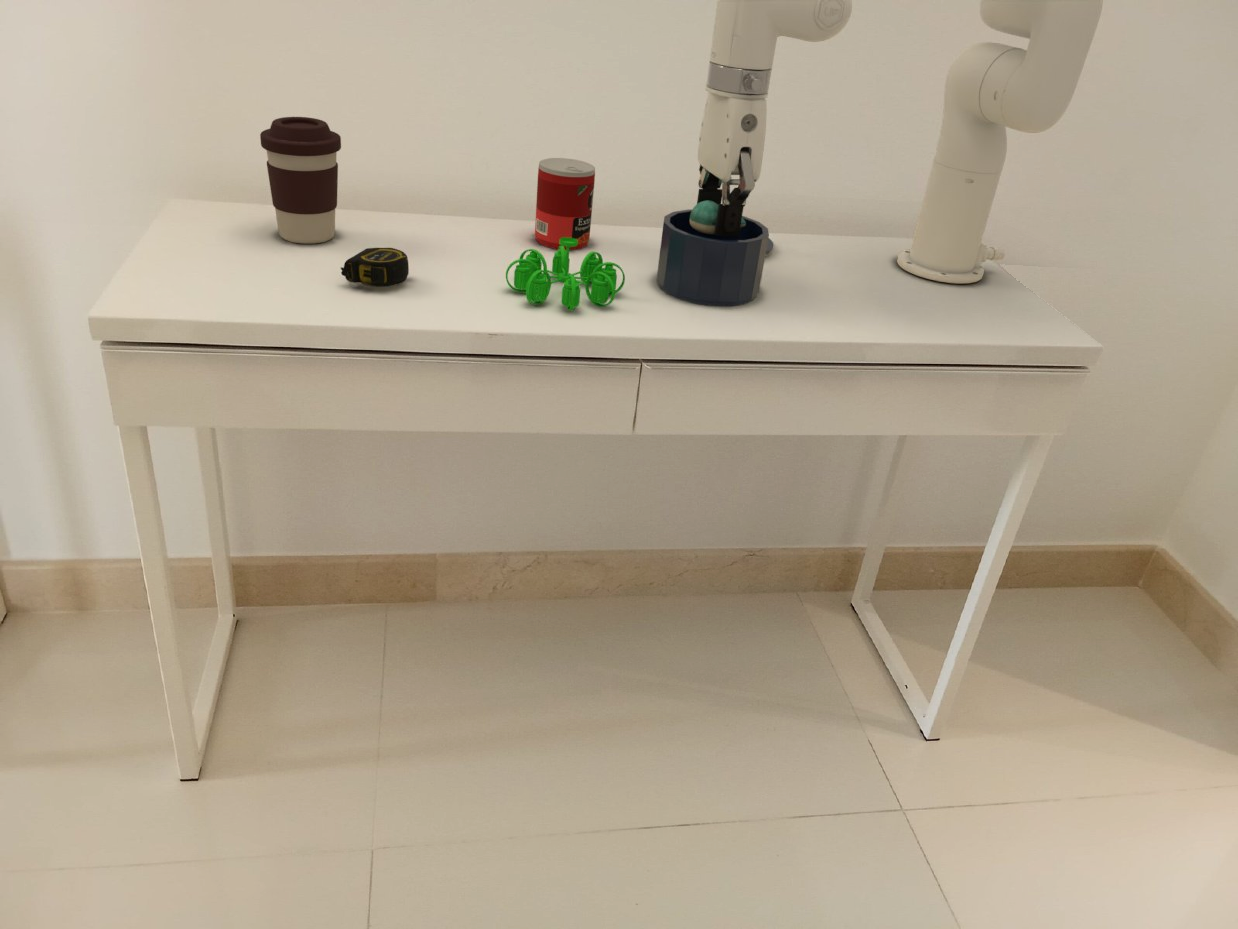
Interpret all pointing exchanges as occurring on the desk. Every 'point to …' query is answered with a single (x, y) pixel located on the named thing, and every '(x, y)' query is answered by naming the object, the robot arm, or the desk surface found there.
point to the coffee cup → (303, 177)
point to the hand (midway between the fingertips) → (716, 226)
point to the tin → (711, 262)
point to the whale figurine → (706, 217)
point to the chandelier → (565, 276)
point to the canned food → (564, 201)
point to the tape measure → (377, 267)
